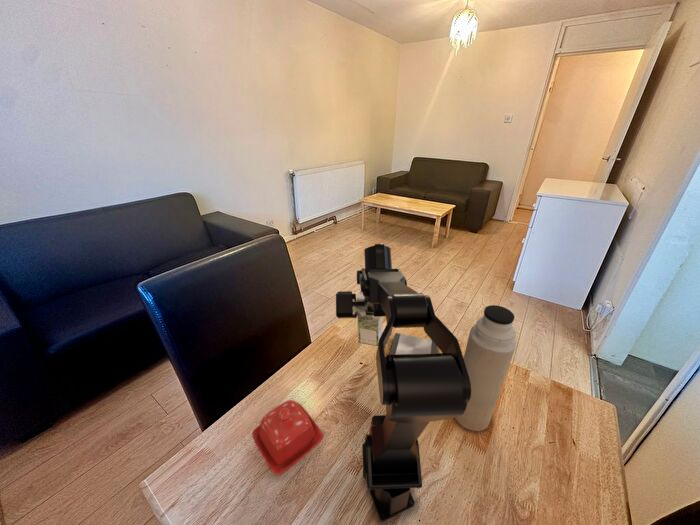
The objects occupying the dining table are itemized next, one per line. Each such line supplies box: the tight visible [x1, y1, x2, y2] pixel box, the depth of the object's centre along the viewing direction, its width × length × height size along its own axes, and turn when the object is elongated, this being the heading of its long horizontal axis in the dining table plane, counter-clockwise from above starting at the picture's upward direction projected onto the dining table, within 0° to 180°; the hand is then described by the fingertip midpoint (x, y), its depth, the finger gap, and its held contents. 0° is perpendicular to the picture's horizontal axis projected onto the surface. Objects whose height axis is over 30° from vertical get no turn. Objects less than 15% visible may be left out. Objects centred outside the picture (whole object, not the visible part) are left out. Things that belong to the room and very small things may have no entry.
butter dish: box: [251, 399, 325, 477], centre depth 57 cm, size 12×12×8 cm
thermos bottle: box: [454, 304, 517, 432], centre depth 57 cm, size 8×8×28 cm
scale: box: [389, 332, 438, 355], centre depth 78 cm, size 12×12×3 cm
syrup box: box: [356, 290, 384, 347], centre depth 75 cm, size 6×6×14 cm
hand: (371, 309), depth 76 cm, fingers closed on syrup box, 7 cm apart
